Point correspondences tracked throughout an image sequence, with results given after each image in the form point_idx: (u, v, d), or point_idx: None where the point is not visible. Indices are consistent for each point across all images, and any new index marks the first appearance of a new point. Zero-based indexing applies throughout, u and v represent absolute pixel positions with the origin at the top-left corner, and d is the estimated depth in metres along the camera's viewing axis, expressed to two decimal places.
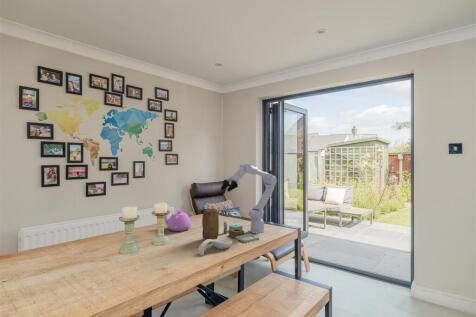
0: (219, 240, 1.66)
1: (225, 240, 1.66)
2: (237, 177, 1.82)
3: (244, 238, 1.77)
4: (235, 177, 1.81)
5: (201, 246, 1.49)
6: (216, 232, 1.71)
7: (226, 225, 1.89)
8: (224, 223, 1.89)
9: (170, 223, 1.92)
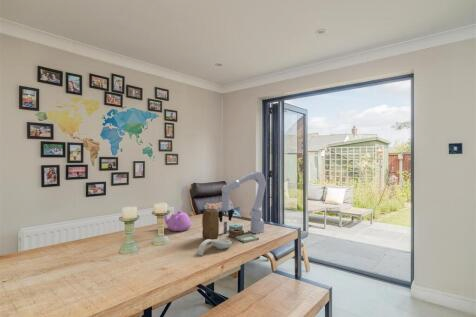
0: (219, 240, 1.66)
1: (225, 240, 1.66)
2: None
3: (244, 238, 1.77)
4: None
5: (200, 246, 1.49)
6: (216, 232, 1.71)
7: (226, 225, 1.89)
8: (224, 223, 1.89)
9: (170, 223, 1.92)
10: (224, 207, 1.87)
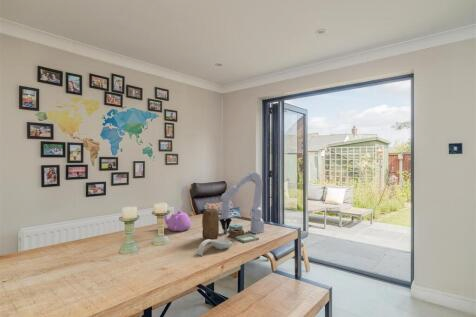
0: (219, 240, 1.66)
1: (225, 240, 1.66)
2: None
3: (244, 238, 1.77)
4: None
5: (200, 246, 1.49)
6: (216, 232, 1.71)
7: (226, 225, 1.89)
8: None
9: (170, 223, 1.92)
10: (224, 215, 1.87)
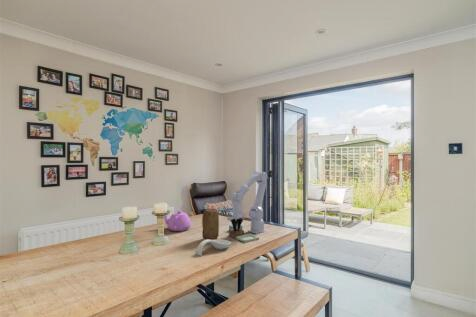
0: (218, 240, 1.65)
1: (224, 240, 1.65)
2: (233, 212, 1.83)
3: (244, 238, 1.77)
4: None
5: (199, 246, 1.49)
6: (216, 232, 1.71)
7: (237, 226, 1.83)
8: None
9: (170, 223, 1.92)
10: (235, 215, 1.81)
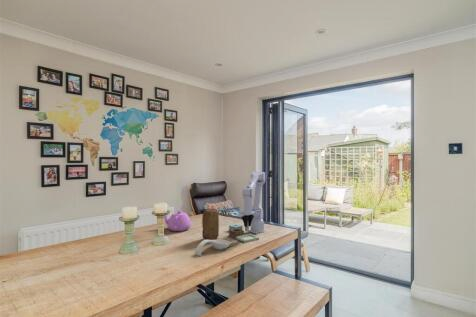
0: (218, 241, 1.65)
1: (224, 241, 1.65)
2: None
3: (244, 238, 1.77)
4: None
5: (198, 246, 1.49)
6: (216, 232, 1.71)
7: (248, 222, 1.77)
8: None
9: (170, 223, 1.92)
10: (247, 211, 1.75)
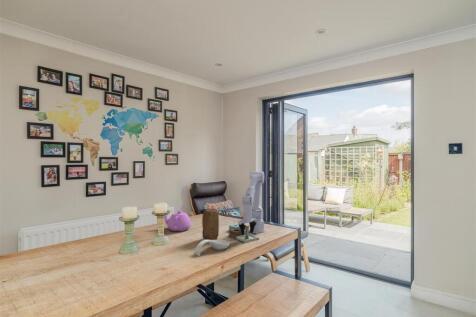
0: (218, 241, 1.65)
1: (224, 241, 1.65)
2: (243, 216, 1.76)
3: (244, 238, 1.77)
4: (243, 217, 1.77)
5: (198, 246, 1.49)
6: (216, 232, 1.71)
7: (248, 229, 1.77)
8: (246, 227, 1.77)
9: (170, 223, 1.92)
10: (246, 219, 1.75)
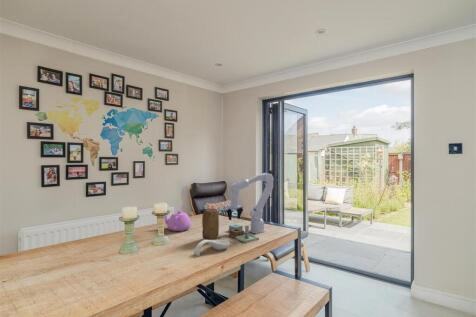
0: (217, 241, 1.64)
1: (223, 241, 1.64)
2: (231, 202, 1.90)
3: (244, 238, 1.77)
4: None
5: (197, 247, 1.48)
6: (216, 232, 1.71)
7: (248, 229, 1.77)
8: (246, 227, 1.77)
9: (170, 223, 1.92)
10: (233, 205, 1.89)
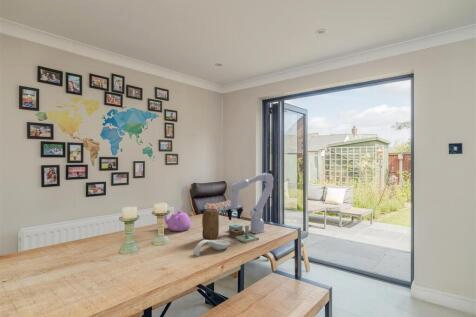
0: (217, 241, 1.64)
1: (223, 241, 1.64)
2: None
3: (244, 238, 1.77)
4: None
5: (197, 247, 1.48)
6: (216, 232, 1.71)
7: (248, 229, 1.77)
8: (246, 227, 1.77)
9: (170, 223, 1.92)
10: (233, 205, 1.89)
